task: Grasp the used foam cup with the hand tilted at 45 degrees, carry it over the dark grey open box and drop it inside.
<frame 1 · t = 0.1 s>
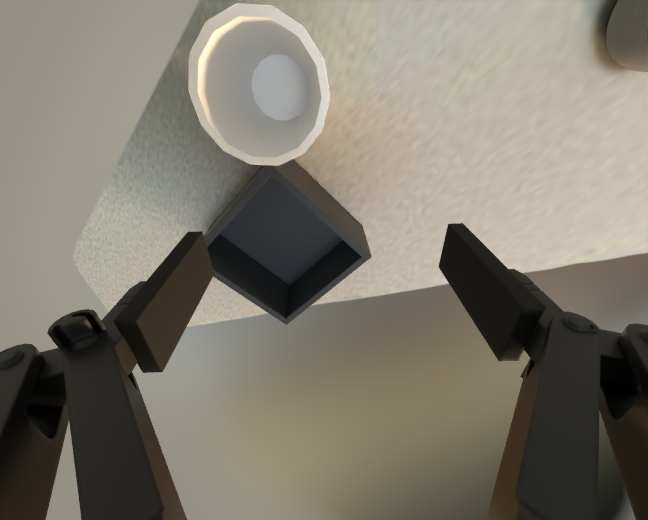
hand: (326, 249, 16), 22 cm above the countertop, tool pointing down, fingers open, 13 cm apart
smart speaker: (644, 15, 28), on the countertop
dark grey open box: (286, 226, 39), on the countertop
foam cup: (281, 88, 31), on the countertop
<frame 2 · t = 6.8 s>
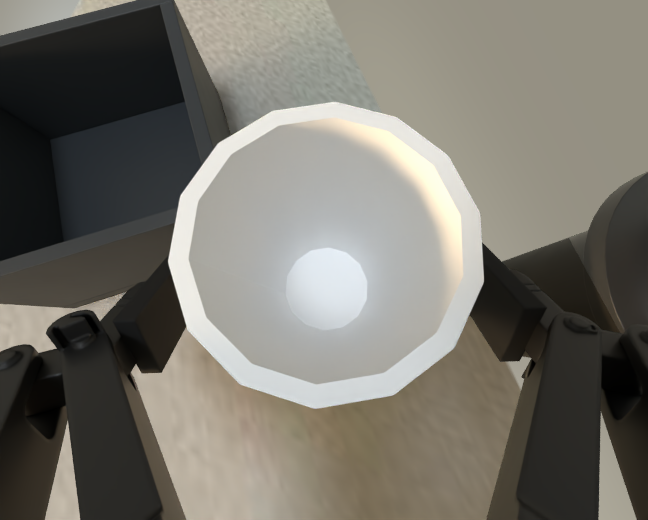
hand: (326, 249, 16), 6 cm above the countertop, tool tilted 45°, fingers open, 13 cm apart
dark grey open box: (152, 192, 23), on the countertop
foam cup: (326, 289, 22), on the countertop
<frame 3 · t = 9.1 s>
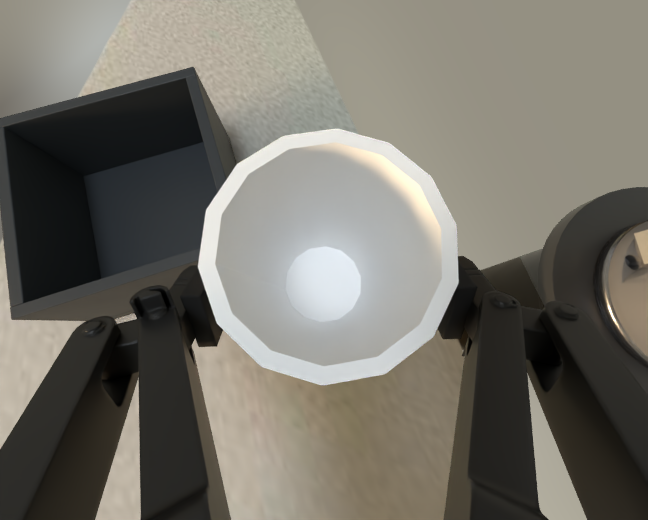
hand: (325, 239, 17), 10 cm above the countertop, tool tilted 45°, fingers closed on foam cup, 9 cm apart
dark grey open box: (172, 221, 27), on the countertop
foam cup: (323, 284, 23), point 3 cm above the countertop, touching gripper
when the fingers open (10 cm above the countertop, at t = 15.7 s): foam cup drops 2 cm, resting on dark grey open box.
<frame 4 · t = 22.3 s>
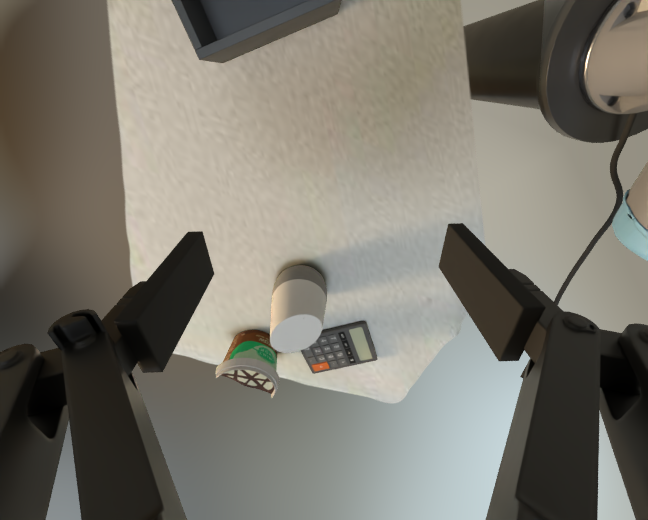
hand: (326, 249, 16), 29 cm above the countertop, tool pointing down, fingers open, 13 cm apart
food container: (261, 337, 60), on the countertop
smart speaker: (300, 280, 53), on the countertop
calculator: (337, 346, 62), on the countertop
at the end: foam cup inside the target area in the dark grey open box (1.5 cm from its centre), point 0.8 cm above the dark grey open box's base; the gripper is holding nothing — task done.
